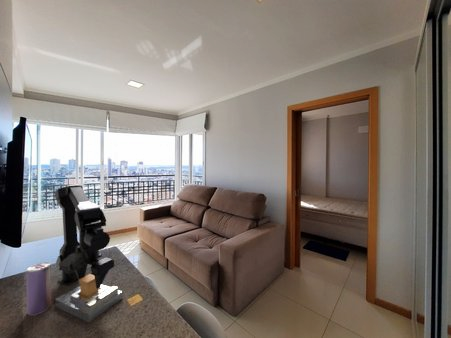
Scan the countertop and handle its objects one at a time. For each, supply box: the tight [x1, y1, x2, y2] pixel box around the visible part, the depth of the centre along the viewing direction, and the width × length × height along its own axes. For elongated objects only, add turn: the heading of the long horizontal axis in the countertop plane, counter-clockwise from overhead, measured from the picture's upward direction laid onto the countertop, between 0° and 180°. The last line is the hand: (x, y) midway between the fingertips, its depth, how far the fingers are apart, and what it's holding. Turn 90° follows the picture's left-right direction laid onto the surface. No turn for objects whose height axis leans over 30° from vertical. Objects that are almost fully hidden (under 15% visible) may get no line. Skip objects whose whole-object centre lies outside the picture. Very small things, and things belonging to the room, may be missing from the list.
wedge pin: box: [78, 273, 99, 298], centre depth 70 cm, size 5×5×9 cm
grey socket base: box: [54, 283, 123, 323], centre depth 70 cm, size 18×12×4 cm, turn 68°
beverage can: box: [25, 262, 52, 317], centre depth 66 cm, size 6×6×15 cm
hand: (89, 284), depth 69 cm, fingers open, 9 cm apart
